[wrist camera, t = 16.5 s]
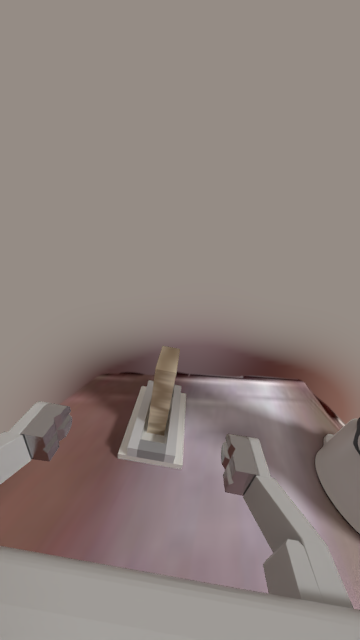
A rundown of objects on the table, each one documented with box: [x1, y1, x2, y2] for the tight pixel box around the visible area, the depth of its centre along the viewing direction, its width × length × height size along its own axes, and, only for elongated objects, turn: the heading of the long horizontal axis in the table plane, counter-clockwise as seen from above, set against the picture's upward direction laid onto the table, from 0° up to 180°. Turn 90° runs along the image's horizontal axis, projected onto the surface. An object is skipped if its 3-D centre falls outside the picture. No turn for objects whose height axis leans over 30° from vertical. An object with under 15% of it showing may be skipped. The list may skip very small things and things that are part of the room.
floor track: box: [118, 380, 186, 470], centre depth 34 cm, size 10×14×3 cm
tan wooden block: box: [147, 346, 180, 436], centre depth 31 cm, size 3×6×14 cm, turn 176°
